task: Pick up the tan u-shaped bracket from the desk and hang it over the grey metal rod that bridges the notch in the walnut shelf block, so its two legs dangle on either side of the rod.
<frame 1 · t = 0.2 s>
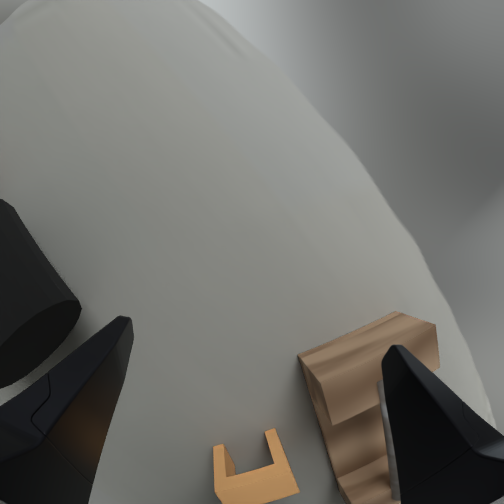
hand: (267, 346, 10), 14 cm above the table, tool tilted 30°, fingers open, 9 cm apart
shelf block: (368, 417, 26), on the table
tan u-shaped bracket: (249, 448, 24), on the table
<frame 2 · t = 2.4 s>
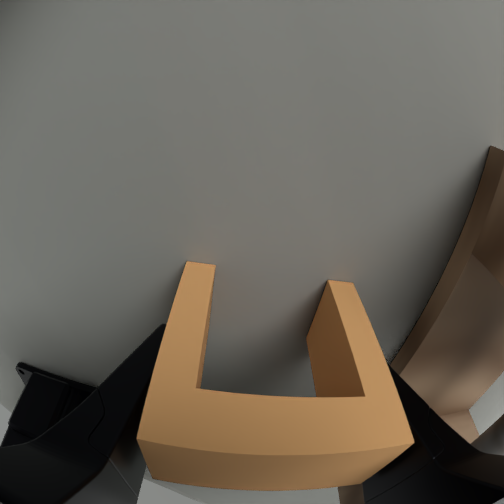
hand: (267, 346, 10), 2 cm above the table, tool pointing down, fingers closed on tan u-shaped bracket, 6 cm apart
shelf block: (466, 347, 13), on the table
tan u-shaped bracket: (265, 306, 11), on the table, touching gripper
when the fingers open (5 cm above the table, at t = 7.3 s): tan u-shaped bracket stays where it is, resting on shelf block.
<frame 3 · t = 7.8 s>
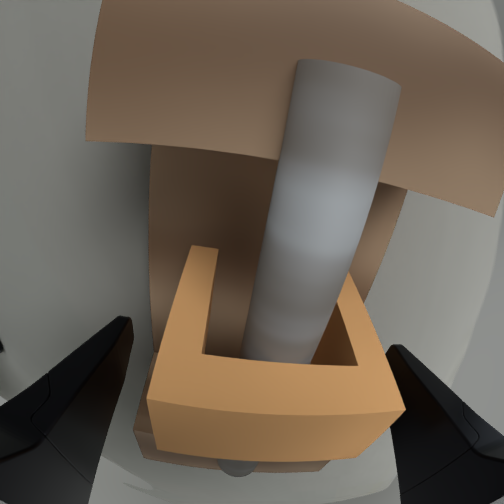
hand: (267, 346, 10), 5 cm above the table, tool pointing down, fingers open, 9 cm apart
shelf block: (263, 263, 14), on the table
tan u-shaped bracket: (264, 288, 12), point 2 cm above the table, touching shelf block
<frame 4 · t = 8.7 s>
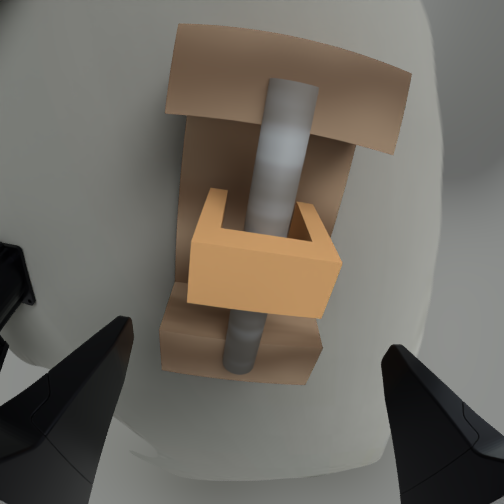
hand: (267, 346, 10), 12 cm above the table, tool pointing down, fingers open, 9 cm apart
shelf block: (257, 208, 20), on the table
tan u-shaped bracket: (257, 219, 18), point 2 cm above the table, touching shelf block
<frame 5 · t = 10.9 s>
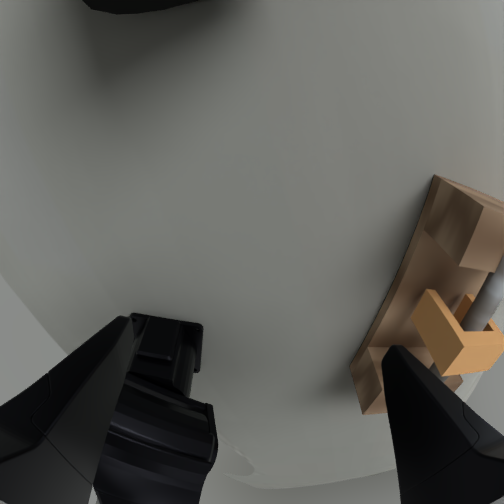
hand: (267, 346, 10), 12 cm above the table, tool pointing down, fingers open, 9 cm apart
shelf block: (433, 292, 24), on the table
tan u-shaped bracket: (443, 305, 22), point 2 cm above the table, touching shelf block
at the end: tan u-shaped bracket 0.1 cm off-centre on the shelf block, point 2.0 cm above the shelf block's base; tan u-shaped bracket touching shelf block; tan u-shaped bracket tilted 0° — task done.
